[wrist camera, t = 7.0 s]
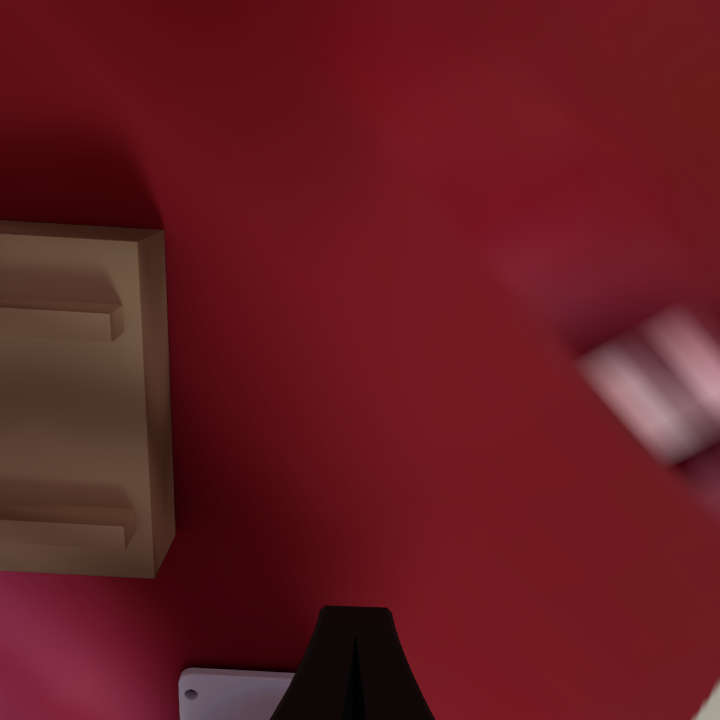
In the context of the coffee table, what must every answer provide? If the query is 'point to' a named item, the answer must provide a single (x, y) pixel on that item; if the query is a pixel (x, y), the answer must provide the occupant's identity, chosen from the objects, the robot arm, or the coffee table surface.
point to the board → (84, 401)
